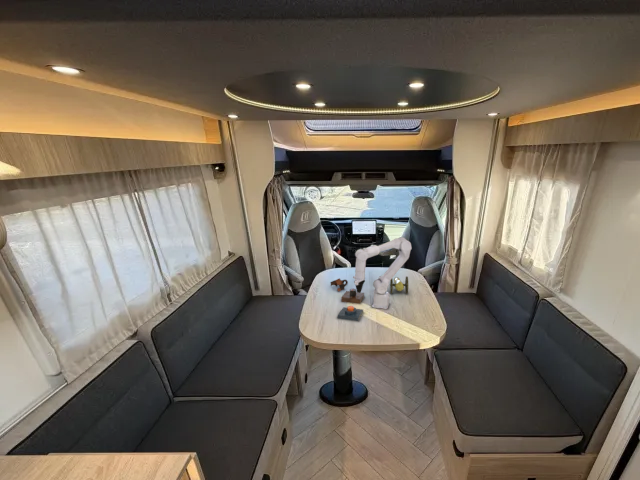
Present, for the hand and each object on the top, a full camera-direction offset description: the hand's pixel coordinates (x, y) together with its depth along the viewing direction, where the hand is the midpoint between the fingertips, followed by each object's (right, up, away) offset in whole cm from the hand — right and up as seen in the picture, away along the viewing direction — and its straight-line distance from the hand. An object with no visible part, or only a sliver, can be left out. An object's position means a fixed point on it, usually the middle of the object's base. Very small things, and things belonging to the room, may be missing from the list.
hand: (358, 292), depth 182 cm
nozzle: (-5, -10, -8) cm, 13 cm away
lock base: (-4, -5, +14) cm, 15 cm away
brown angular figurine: (-14, 0, +30) cm, 33 cm away
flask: (-5, -13, -6) cm, 15 cm away
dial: (-4, -3, +13) cm, 14 cm away
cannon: (+26, 0, +29) cm, 39 cm away
